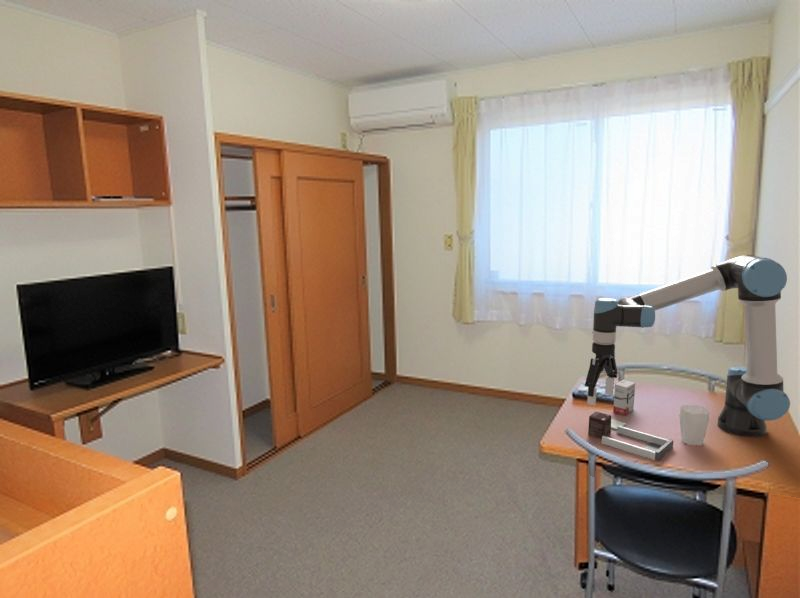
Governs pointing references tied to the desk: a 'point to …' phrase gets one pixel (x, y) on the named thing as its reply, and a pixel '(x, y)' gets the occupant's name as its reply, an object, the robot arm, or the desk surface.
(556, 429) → the desk surface
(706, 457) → the desk surface
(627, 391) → the ink box
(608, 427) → the box
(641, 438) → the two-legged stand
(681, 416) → the cup
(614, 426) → the pad
